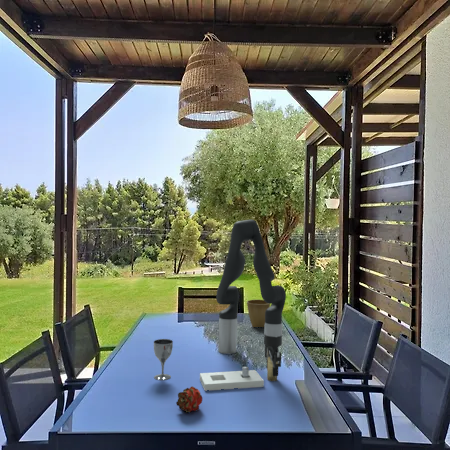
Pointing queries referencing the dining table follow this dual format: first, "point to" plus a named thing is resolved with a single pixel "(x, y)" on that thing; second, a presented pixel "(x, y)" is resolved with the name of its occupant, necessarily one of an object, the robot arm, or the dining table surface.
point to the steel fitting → (245, 372)
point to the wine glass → (163, 355)
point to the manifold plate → (230, 380)
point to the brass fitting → (270, 371)
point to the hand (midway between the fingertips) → (272, 372)
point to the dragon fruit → (189, 399)
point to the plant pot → (257, 312)
